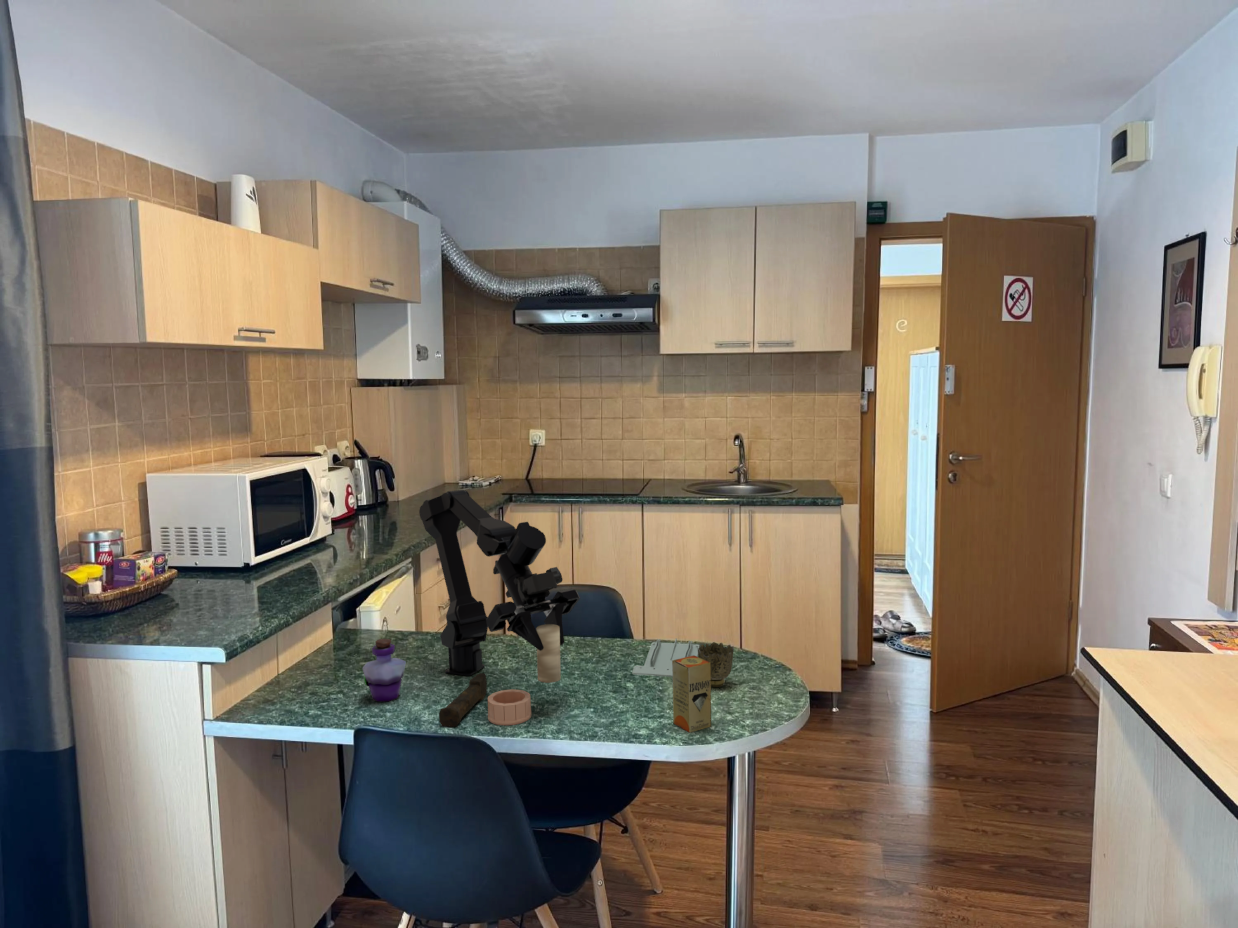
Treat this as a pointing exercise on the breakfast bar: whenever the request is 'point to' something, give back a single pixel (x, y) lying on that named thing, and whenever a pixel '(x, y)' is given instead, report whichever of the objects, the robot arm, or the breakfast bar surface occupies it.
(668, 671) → the metal bracket
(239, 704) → the breakfast bar surface
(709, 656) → the brown speckled footed container
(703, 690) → the shoe polish box
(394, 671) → the potion bottle
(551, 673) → the birch peg
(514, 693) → the terracotta cup
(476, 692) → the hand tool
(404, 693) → the breakfast bar surface
